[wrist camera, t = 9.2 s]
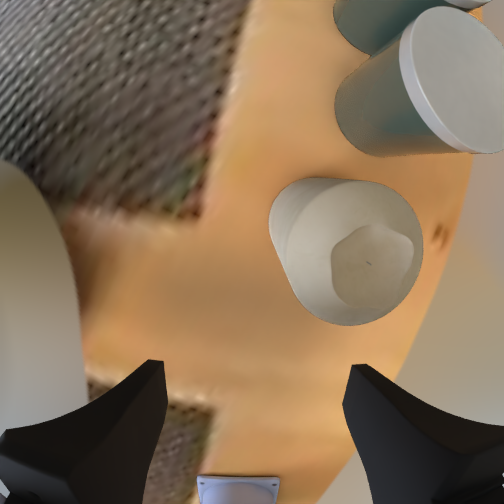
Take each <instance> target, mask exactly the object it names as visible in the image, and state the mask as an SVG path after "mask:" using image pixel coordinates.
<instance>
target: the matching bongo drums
mask: <svg viewBox="0 0 504 504" xmlns="http://www.w3.org/2000/svg"><path fill="white" fill-rule="evenodd" d="M490 1H492V0H336V1H335V3H334V7H333V15H334V20H335V23H336V25H337V27H338V29H339V31H340V32H341V33H342V35H343V36H344V37H345V38H346V39H347V40H348V41H349V42H350V43H351V44H352V45H353V46H355V47H356V48H358V49H359V50H361V51H363V52H364V53H366V54H369V55H371V57H370V58H368V59H367V60H366V61H365V62H364V63H363V64H361V65H360V66H359V67H358V68H357V69H356V70H354V71H353V72H352V73H351V74H350V75H349V76H348V77H347V78H345V79H344V80H343V82H342V83H341V84H340V86H339V88H338V90H337V93H336V97H335V114H336V118H337V122H338V124H339V127H340V129H341V131H342V132H343V134H344V135H345V137H346V138H347V139H348V140H349V141H350V143H351V144H353V145H354V146H355V147H356V148H357V149H359V150H360V151H362V152H364V153H366V154H369V155H371V156H376V157H394V156H408V155H424V154H444V153H471V154H487V153H488V154H492V153H496V152H500V151H502V150H504V47H503V45H502V44H501V43H500V41H499V40H498V39H497V38H496V36H495V35H494V34H493V33H492V32H491V31H490V30H489V29H488V28H487V27H486V26H485V25H484V24H483V23H481V22H480V21H479V20H477V19H476V18H475V17H473V16H471V15H470V14H468V13H469V12H470V11H472V10H474V9H475V8H479V7H481V6H483V5H485V4H486V3H488V2H490Z"/></svg>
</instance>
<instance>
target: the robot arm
mask: <svg viewBox="0 0 504 504" xmlns="http://www.w3.org/2000/svg"><path fill="white" fill-rule="evenodd" d="M167 405H168V397H167V389H166V380H165V371H164V361H158V360H149V359H148V360H147V361H146V362H144V363H143V364H142V365H141V366H140V367H138V368H137V369H136V370H135V371H134V372H132V373H131V374H130V375H129V376H128V377H126V378H125V379H124V380H123V381H121V382H120V383H119V384H118V385H116V386H115V387H113V388H112V389H111V390H109V391H108V392H106V393H105V394H103V395H102V396H101V397H99V398H97V399H96V400H94V401H92V402H91V403H89V404H87V405H85V406H83V407H81V408H79V409H77V410H75V411H73V412H70V413H68V414H66V415H64V416H61V417H58V418H55V419H53V420H49V421H46V422H43V423H39V424H35V425H30V426H25V427H19V428H13V429H6V430H5V432H4V433H3V434H2V435H1V437H0V479H1V481H2V482H3V483H4V485H5V486H6V487H7V489H8V490H9V491H10V494H9V496H8V497H7V498H6V497H5V496H3V495H2V494H1V493H0V504H142V501H143V494H144V489H145V483H146V478H147V473H148V470H149V466H150V463H151V460H152V457H153V454H154V451H155V448H156V445H157V442H158V439H159V436H160V433H161V430H162V427H163V424H164V420H165V415H166V410H167ZM342 406H343V410H344V414H345V418H346V422H347V426H348V428H349V431H350V433H351V436H352V438H353V441H354V443H355V446H356V448H357V451H358V453H359V455H360V458H361V460H362V463H363V465H364V468H365V471H366V474H367V478H368V482H369V486H370V490H371V494H372V500H373V504H504V487H503V486H502V485H503V484H504V477H503V475H502V474H503V473H504V426H499V425H491V424H485V423H480V422H476V421H472V420H468V419H464V418H461V417H458V416H455V415H452V414H450V413H447V412H444V411H442V410H440V409H437V408H436V407H433V406H431V405H429V404H427V403H425V402H424V401H422V400H420V399H418V398H416V397H415V396H413V395H412V394H410V393H408V392H407V391H405V390H404V389H402V388H401V387H399V386H398V385H396V384H395V383H393V382H392V381H391V380H389V379H388V378H386V377H385V376H383V375H382V374H381V373H379V372H378V371H376V370H375V369H374V368H372V367H371V366H369V365H367V364H356V365H352V367H351V371H350V375H349V379H348V383H347V387H346V391H345V395H344V399H343V403H342ZM197 484H198V491H199V498H200V504H276V499H277V494H278V489H279V485H280V478H278V477H220V476H204V475H200V476H198V477H197Z"/></svg>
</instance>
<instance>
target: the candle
mask: <svg viewBox="0 0 504 504" xmlns="http://www.w3.org/2000/svg"><path fill="white" fill-rule="evenodd" d="M269 232H270V236H271V239H272V242H273V245H274V247H275V249H276V252H277V254H278V256H279V259H280V261H281V263H282V266H283V268H284V271H285V273H286V275H287V278H288V280H289V282H290V285H291V287H292V289H293V292H294V293H295V295H296V297H297V298H298V300H299V301H300V303H301V304H302V305H303V306H304V307H305V308H306V309H307V310H308V311H309V312H310V313H312V314H313V315H315V316H316V317H318V318H319V319H322V320H324V321H326V322H329V323H332V324H337V325H344V326H353V325H361V324H365V323H369V322H372V321H375V320H377V319H379V318H381V317H383V316H385V315H386V314H388V313H389V312H391V311H392V310H393V309H394V308H396V307H397V306H398V305H399V304H400V303H401V302H402V301H403V300H404V298H405V297H406V296H407V295H408V293H409V292H410V290H411V289H412V287H413V285H414V283H415V281H416V279H417V277H418V274H419V271H420V268H421V264H422V259H423V236H422V230H421V227H420V223H419V221H418V218H417V216H416V214H415V212H414V211H413V209H412V207H411V206H410V205H409V204H408V202H407V201H406V200H405V199H404V198H403V197H402V196H401V195H400V194H398V193H397V192H395V191H394V190H393V189H391V188H389V187H387V186H385V185H382V184H379V183H375V182H370V181H361V180H349V179H335V178H317V177H313V178H304V179H301V180H298V181H295V182H293V183H292V184H290V185H288V186H287V187H286V188H284V189H283V190H282V191H281V192H280V193H279V195H278V196H277V197H276V199H275V201H274V203H273V205H272V207H271V210H270V214H269Z"/></svg>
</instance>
